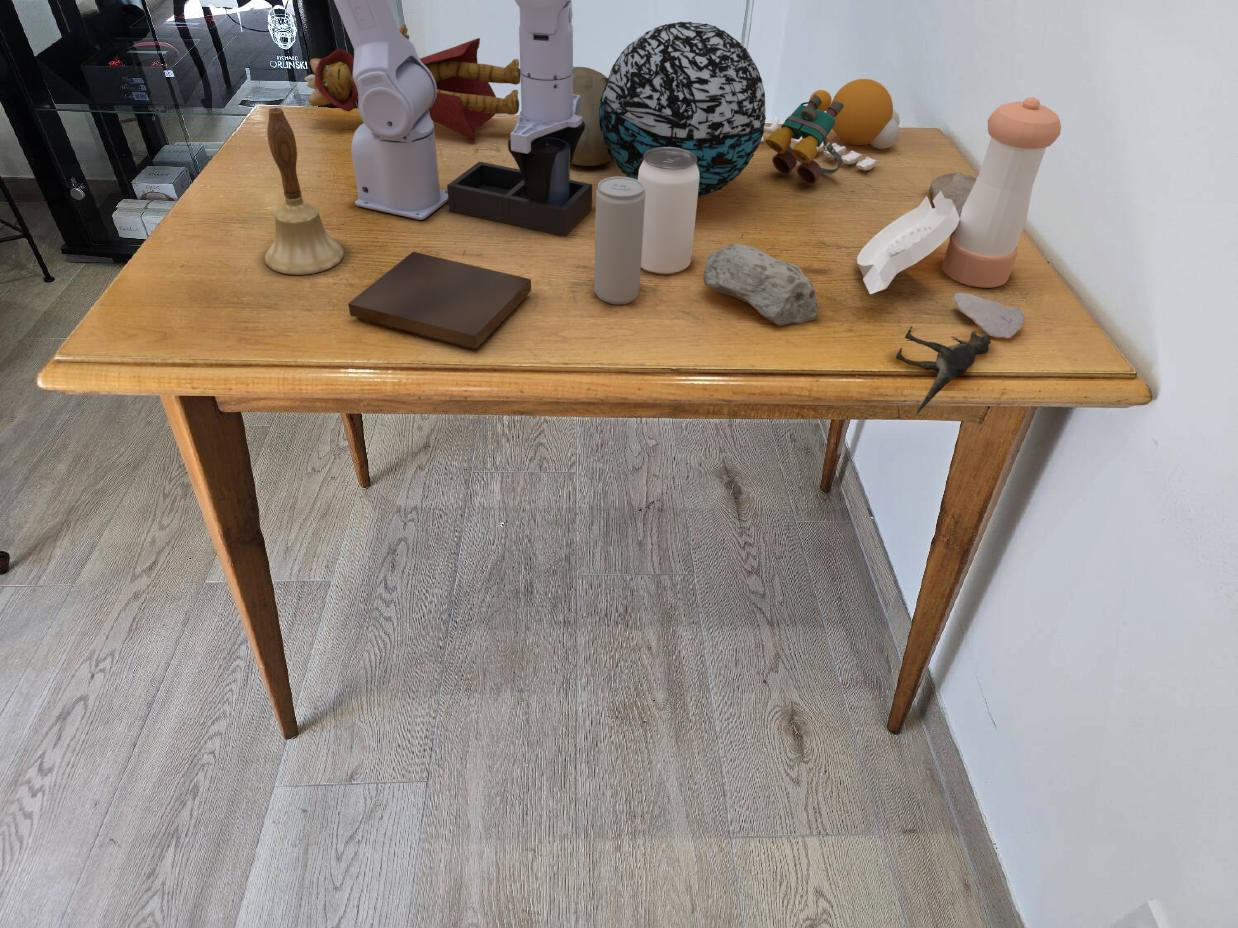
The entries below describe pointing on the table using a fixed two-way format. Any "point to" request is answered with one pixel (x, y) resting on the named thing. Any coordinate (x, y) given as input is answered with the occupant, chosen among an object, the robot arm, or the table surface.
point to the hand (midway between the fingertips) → (548, 192)
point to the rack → (515, 200)
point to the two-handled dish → (906, 241)
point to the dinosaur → (948, 360)
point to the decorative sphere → (685, 101)
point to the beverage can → (618, 239)
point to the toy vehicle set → (846, 156)
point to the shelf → (441, 299)
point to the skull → (590, 117)
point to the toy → (863, 114)
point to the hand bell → (296, 213)
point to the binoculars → (805, 140)
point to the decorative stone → (762, 283)
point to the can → (668, 209)
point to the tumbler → (559, 173)
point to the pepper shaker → (1001, 194)
